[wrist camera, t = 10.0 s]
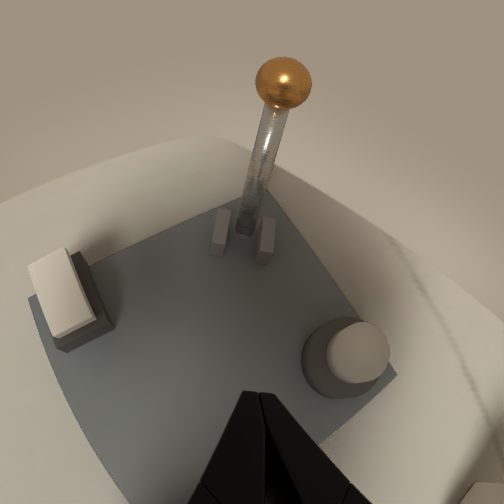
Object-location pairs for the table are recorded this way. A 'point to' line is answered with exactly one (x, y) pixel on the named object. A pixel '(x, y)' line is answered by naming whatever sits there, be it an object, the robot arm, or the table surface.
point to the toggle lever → (270, 132)
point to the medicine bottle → (485, 494)
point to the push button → (358, 353)
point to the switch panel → (201, 346)
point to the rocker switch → (60, 293)
